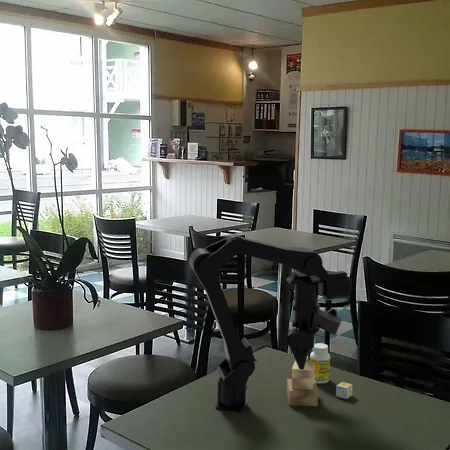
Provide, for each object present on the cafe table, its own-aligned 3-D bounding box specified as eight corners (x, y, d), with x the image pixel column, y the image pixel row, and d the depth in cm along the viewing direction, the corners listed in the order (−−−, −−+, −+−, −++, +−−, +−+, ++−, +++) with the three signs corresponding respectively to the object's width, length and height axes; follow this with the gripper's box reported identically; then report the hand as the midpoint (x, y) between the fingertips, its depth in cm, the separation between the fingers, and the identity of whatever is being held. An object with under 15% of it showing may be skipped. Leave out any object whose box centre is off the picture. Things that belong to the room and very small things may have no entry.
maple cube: (291, 388, 141) (292, 368, 140) (294, 379, 146) (294, 361, 145) (312, 390, 140) (312, 370, 139) (314, 382, 144) (314, 363, 144)
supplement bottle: (319, 374, 159) (321, 340, 157) (333, 381, 154) (335, 346, 153) (304, 378, 156) (306, 344, 154) (318, 385, 151) (320, 350, 150)
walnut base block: (288, 406, 140) (289, 390, 139) (286, 393, 147) (287, 378, 146) (317, 407, 140) (318, 391, 139) (314, 394, 147) (314, 379, 146)
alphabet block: (335, 396, 145) (336, 385, 145) (341, 392, 148) (341, 381, 147) (346, 400, 143) (347, 388, 143) (352, 395, 146) (352, 384, 145)
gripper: (337, 314, 129) (334, 381, 131) (342, 293, 146) (339, 352, 149) (287, 310, 131) (285, 375, 134) (298, 290, 149) (296, 347, 152)
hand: (304, 362), depth 142 cm, fingers open, 9 cm apart
